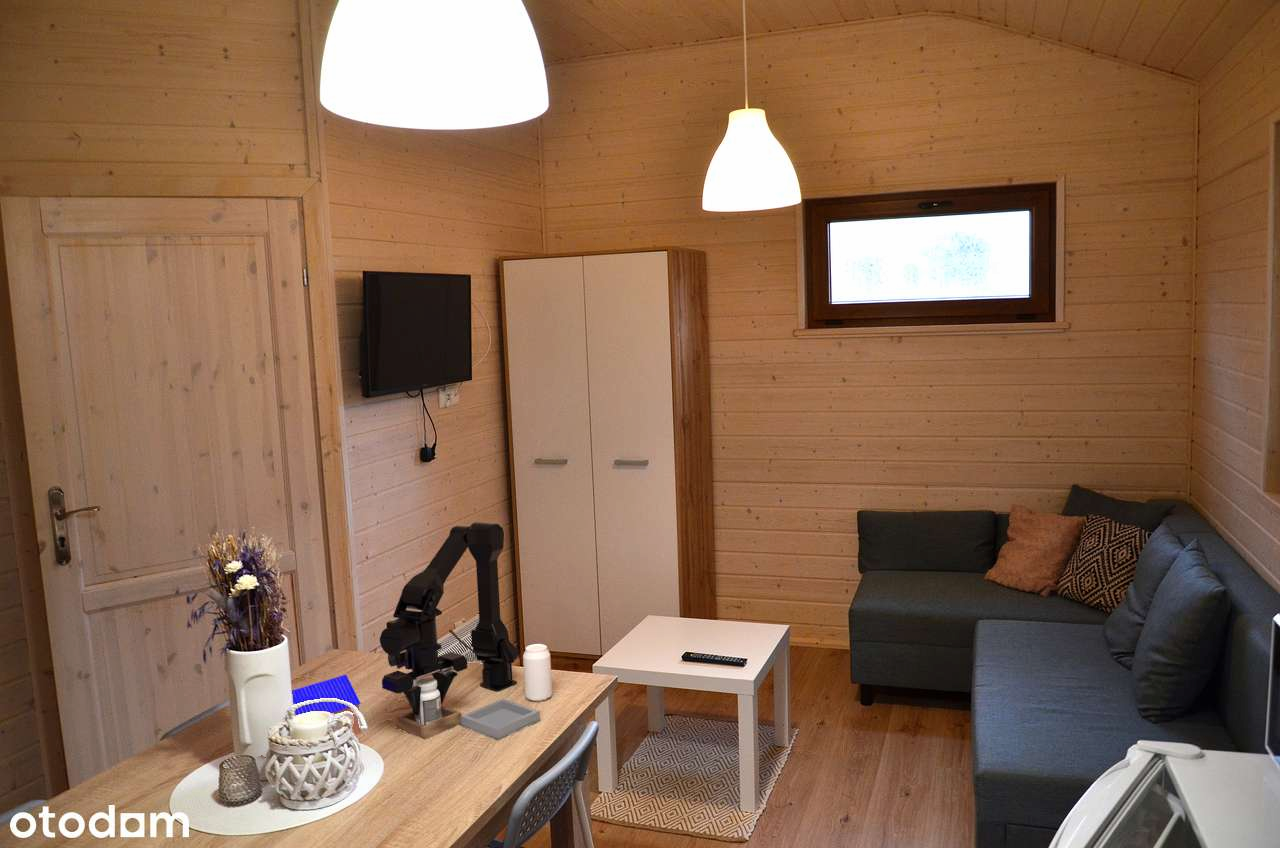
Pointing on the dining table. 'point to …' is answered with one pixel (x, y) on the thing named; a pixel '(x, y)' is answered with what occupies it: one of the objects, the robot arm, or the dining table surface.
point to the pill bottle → (429, 702)
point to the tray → (500, 718)
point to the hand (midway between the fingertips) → (428, 710)
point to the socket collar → (426, 731)
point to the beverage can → (537, 672)
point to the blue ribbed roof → (328, 689)
